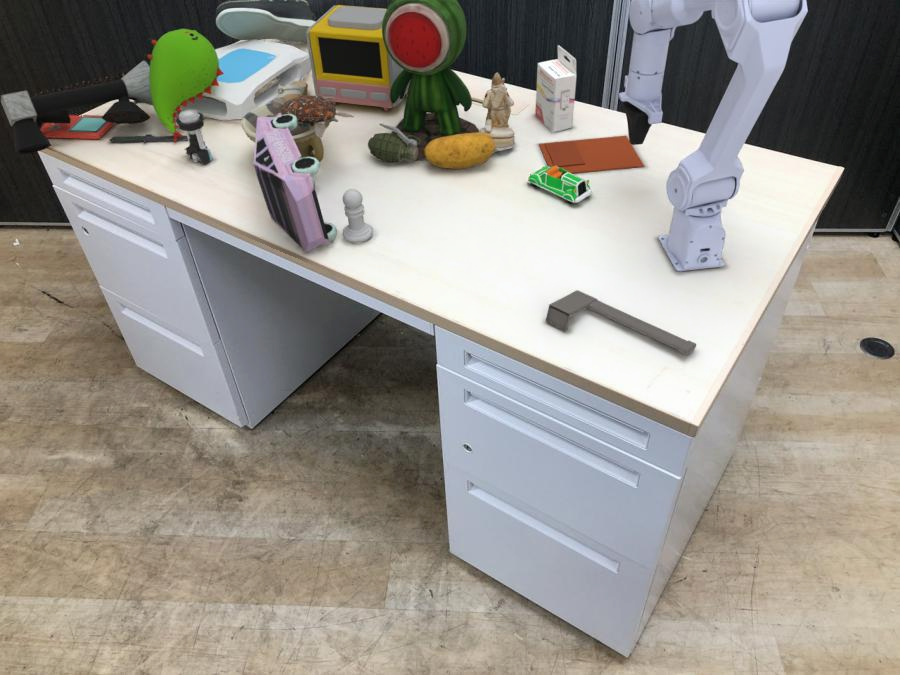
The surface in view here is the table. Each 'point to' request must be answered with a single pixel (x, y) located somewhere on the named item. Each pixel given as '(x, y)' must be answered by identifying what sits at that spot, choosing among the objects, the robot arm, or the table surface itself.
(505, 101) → the figurine
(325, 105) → the toy
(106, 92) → the telephone
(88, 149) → the table surface
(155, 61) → the toy
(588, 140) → the rust cloth
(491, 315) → the table surface
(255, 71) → the document scanner
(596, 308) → the toilet paper hanger
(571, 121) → the ink cartridge box
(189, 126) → the push button
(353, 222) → the chess piece
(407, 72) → the figurine
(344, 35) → the alarm clock
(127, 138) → the knife
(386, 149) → the grenade
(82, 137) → the handheld gaming console
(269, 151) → the toy car
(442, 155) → the potato
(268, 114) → the bowl
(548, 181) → the toy car
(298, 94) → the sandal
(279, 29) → the boat shoe
